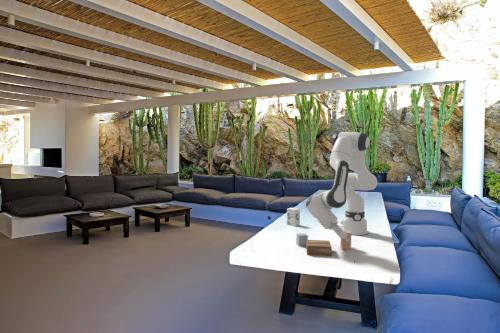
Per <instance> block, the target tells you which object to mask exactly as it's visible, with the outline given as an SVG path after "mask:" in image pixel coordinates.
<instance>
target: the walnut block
mask: <svg viewBox="0 0 500 333" xmlns="http://www.w3.org/2000/svg"><path fill="white" fill-rule="evenodd" d="M331 244H332V243H331V242H330V240H318V239H308V240H306V246H305V248H306V249H305V251H306V256H323V257H332V248H333V247H332V245H331Z"/></svg>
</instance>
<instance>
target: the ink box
mask: <svg viewBox="0 0 500 333" xmlns="http://www.w3.org/2000/svg"><path fill="white" fill-rule="evenodd" d="M300 211H301V210H300V208H296V207H289V208H286V225H289V226H293V227H298V226H301V224H300V223H301V218H300V217H301V216H300V215H301V214H300V213H301V212H300Z"/></svg>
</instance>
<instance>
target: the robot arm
mask: <svg viewBox="0 0 500 333" xmlns="http://www.w3.org/2000/svg"><path fill="white" fill-rule="evenodd" d="M331 146H332V148H331V153H330V156H329V165H330V167H331V168H332V169H333V170H335V177H334V180H333V181H334V182H333V185H332V188H331V189H328V190H327V189H326V190H325V191H323V192H320V193H318V194H314V195H311V196H309V198H308V199H307V200H306V202H305V208H306V209H307V211H308V212H309V213H310V215H311V216H312V217H313V218H315V220H317V221H318V223H319V224H320V225H321V226H322V227H323V228H324V230H329V231H330V230H333V231H334V233H335V234H336V235H337V236H338V237H339V238H340V240H341V239H344V240H346V241H347V242H349V241H350V240H349V239H348V238H347V234H346V233H345V232H344V231H350V232H351V236H352V235H353V236H363V235H367V234H370V231H369V230H368V221H367V219H366V213H365V199H364V198H363V196H361V195H359V194H357V193H356V191H373V190H375V189H376V187H377V186H378V179H377V176H375V175H374V174H373V173H372V172H371V171H370V170H369V169H368V168H367V165H366V156H365V155H366V154H365V153H366V151H367V150H368V148H369V146H370V135H368V134H367V133H365V132H356V131H335V132H334V133H333V134H332V136H331ZM349 170H351V171H353V172H350V171H349ZM345 204H346V207H345V208H346V210H345V213H344V215H345V216H344V218H343V220H340V225H341V226H339V224H338V223H339V221H338V217H337V215H335V213H334V212H332V209H334V208H335V209H340V208H342V207H343V206H345Z"/></svg>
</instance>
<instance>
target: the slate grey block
mask: <svg viewBox="0 0 500 333" xmlns="http://www.w3.org/2000/svg"><path fill="white" fill-rule="evenodd" d="M306 240H309V235H308V234H307V233H303V232H302V233H301V232H300V233H298V232H297V233H296V242H295V244H296V245H297V246H298V247H306Z"/></svg>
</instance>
